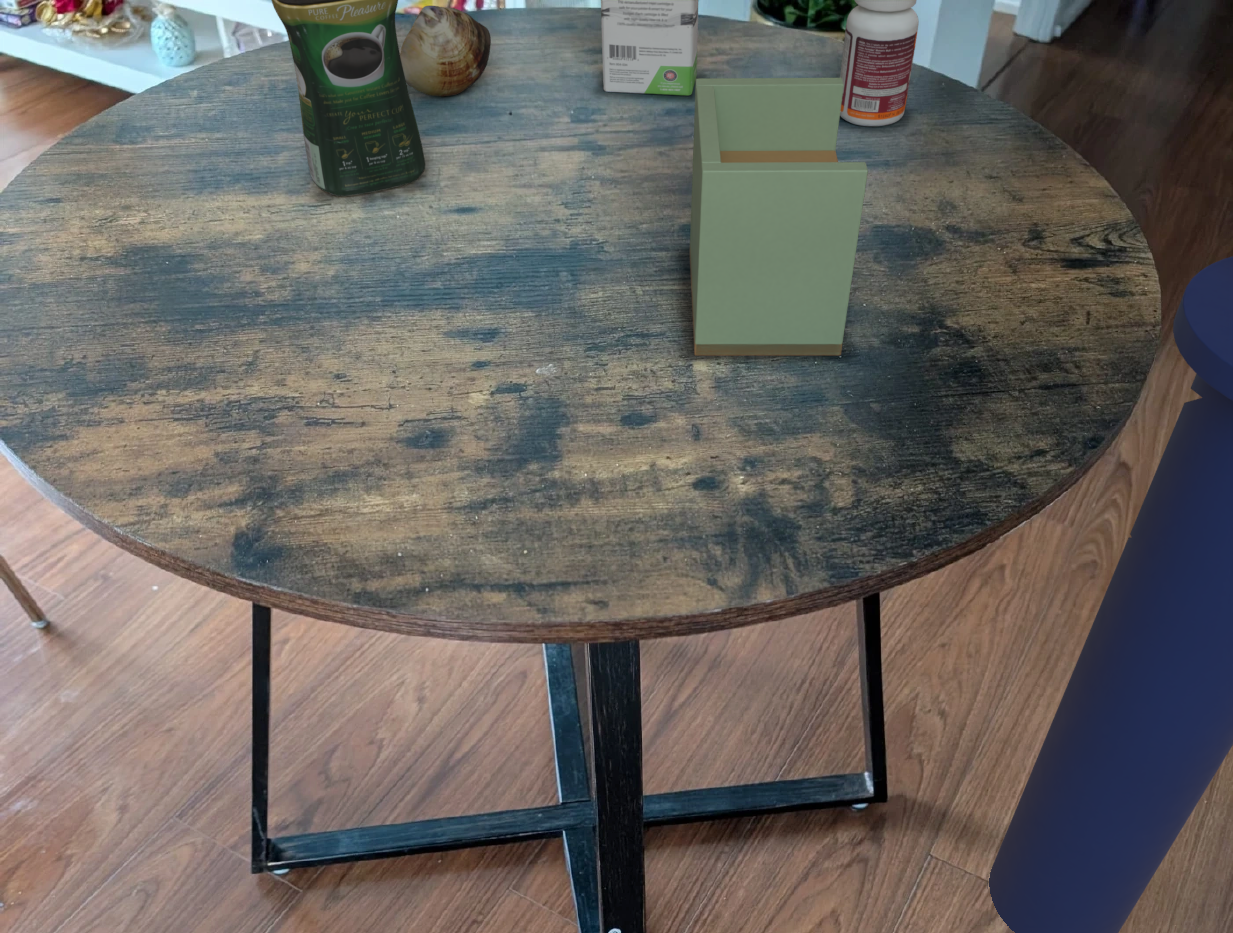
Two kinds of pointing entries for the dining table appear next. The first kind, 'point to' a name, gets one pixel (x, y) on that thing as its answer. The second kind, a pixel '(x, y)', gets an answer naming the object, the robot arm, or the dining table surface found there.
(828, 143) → the green pencil holder
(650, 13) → the ink box
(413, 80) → the seashell
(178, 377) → the dining table surface
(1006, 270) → the dining table surface
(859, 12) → the pill bottle
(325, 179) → the coffee jar
